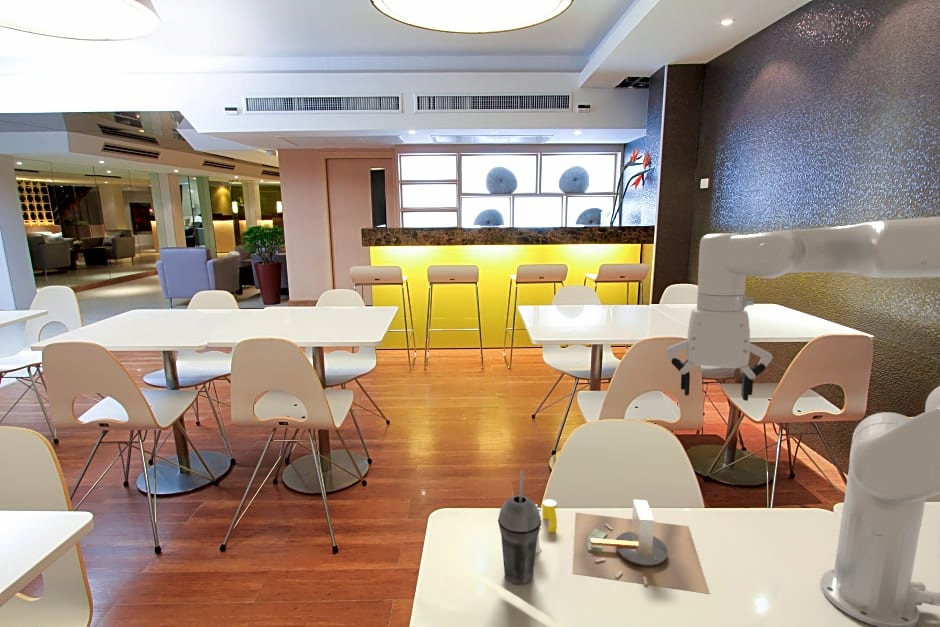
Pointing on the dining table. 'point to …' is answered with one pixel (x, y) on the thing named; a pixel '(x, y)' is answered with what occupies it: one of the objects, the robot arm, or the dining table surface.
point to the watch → (550, 514)
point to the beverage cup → (519, 536)
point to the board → (606, 563)
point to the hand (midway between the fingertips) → (715, 395)
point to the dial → (638, 539)
